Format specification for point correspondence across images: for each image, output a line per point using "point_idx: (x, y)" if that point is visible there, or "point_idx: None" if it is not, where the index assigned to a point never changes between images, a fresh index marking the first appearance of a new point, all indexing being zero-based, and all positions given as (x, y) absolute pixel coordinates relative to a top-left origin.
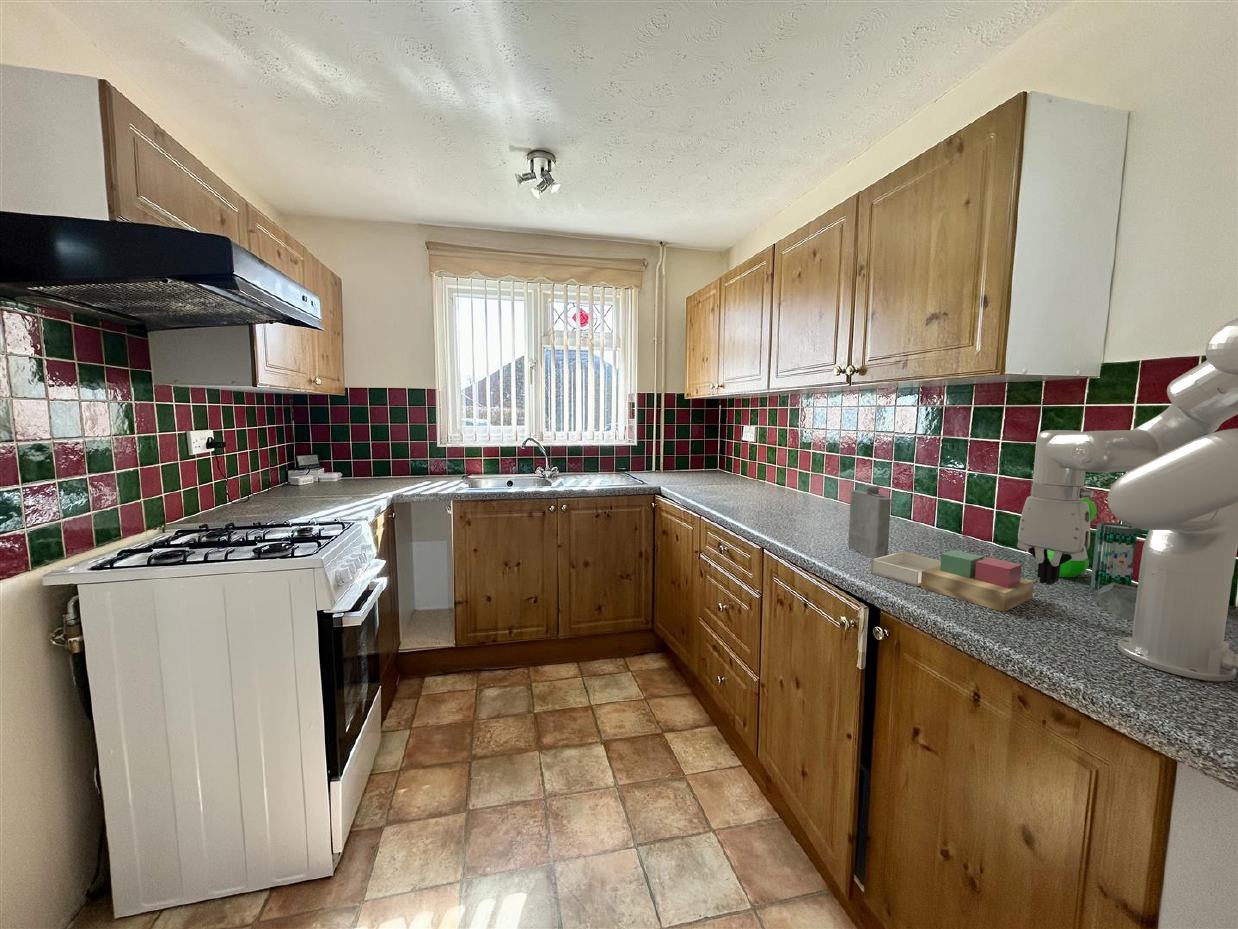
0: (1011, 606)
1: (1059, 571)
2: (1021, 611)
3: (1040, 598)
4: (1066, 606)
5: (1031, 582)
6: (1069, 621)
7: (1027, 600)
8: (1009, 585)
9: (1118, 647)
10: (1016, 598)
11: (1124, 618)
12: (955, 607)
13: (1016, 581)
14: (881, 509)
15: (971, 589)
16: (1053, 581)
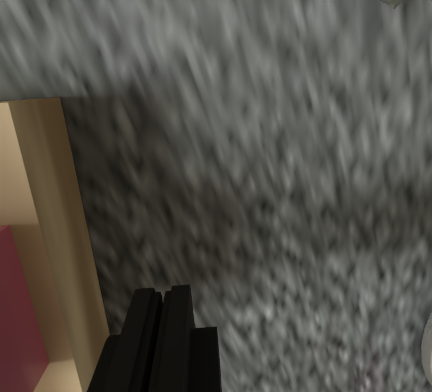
0: (101, 311)
1: (219, 377)
2: None
3: (71, 46)
4: (188, 62)
5: (19, 138)
6: (268, 254)
7: (71, 154)
8: (40, 356)
9: (428, 379)
10: (84, 288)
11: (392, 3)
12: None
13: (14, 284)
14: None
15: None
16: (193, 324)
